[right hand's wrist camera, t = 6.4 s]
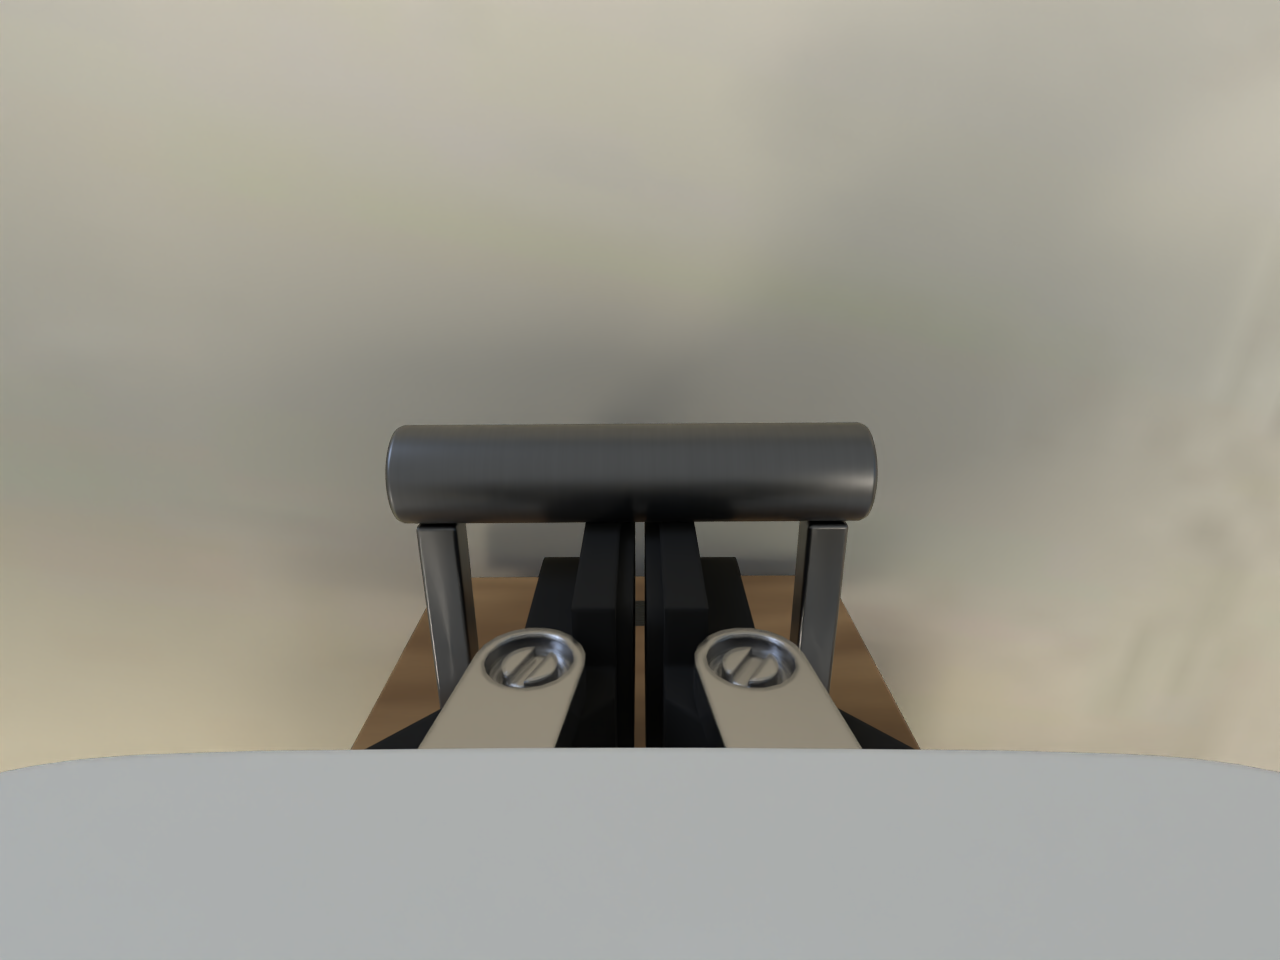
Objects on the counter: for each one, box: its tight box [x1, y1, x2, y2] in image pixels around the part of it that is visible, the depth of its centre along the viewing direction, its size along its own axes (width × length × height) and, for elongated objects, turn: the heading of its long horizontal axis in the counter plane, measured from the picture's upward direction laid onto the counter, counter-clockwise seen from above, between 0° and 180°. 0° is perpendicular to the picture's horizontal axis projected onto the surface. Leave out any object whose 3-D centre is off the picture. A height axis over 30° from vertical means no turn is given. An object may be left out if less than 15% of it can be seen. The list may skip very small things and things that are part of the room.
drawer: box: [351, 422, 920, 750], centre depth 15 cm, size 17×10×8 cm, turn 0°
